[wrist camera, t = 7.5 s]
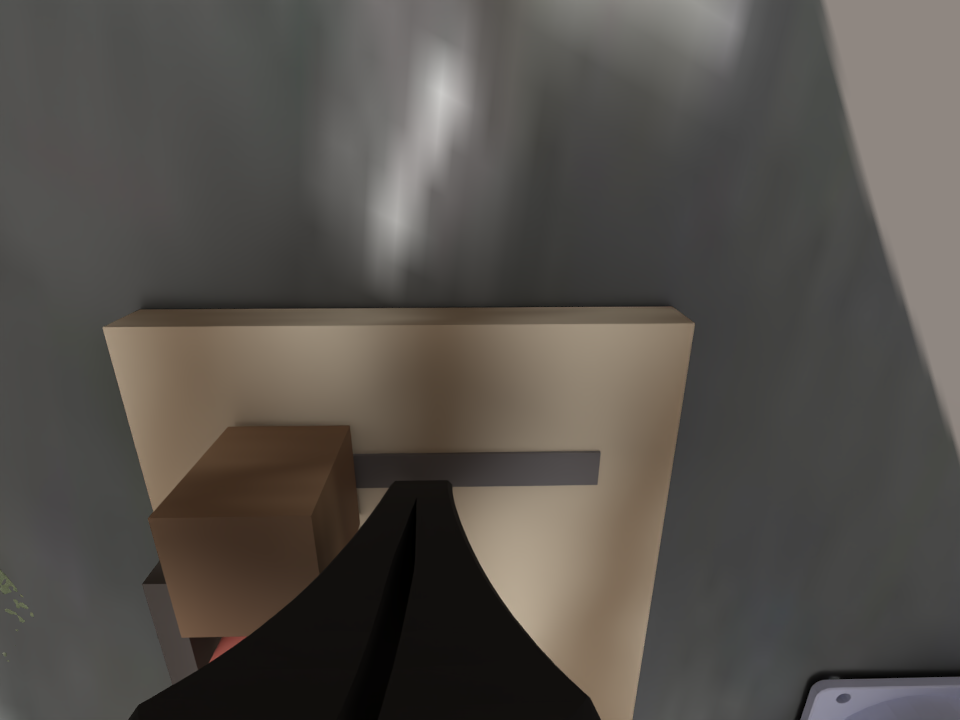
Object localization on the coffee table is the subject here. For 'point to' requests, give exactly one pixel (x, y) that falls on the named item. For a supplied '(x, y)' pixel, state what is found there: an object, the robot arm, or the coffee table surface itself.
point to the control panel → (449, 443)
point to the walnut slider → (255, 524)
